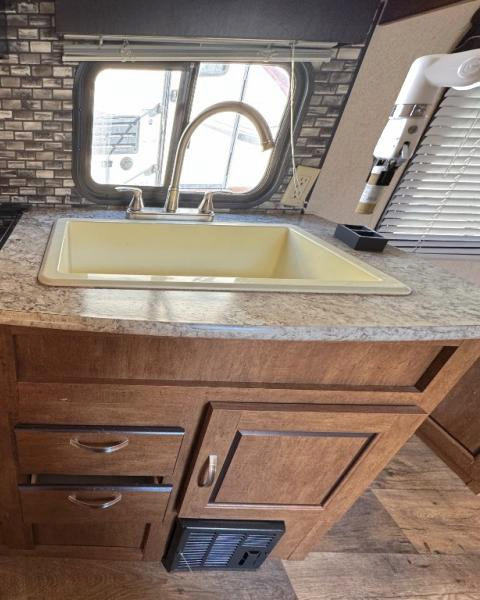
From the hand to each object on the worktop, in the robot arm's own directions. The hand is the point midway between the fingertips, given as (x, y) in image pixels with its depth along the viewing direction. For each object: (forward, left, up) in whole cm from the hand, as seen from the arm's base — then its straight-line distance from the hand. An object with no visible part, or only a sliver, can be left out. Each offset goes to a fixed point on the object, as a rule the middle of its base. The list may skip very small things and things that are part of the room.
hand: (376, 183), depth 93 cm
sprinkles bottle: (0, 0, -9) cm, 9 cm away
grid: (0, +3, -17) cm, 18 cm away
